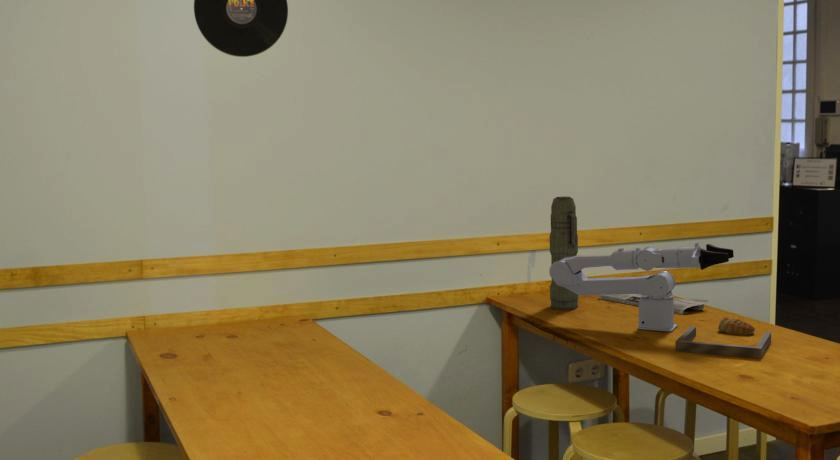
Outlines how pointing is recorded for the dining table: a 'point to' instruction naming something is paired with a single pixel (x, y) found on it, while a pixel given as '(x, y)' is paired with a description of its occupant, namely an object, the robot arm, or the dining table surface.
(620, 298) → the newspaper
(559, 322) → the dining table surface
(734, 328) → the pastry
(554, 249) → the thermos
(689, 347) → the grey u-shaped frame
